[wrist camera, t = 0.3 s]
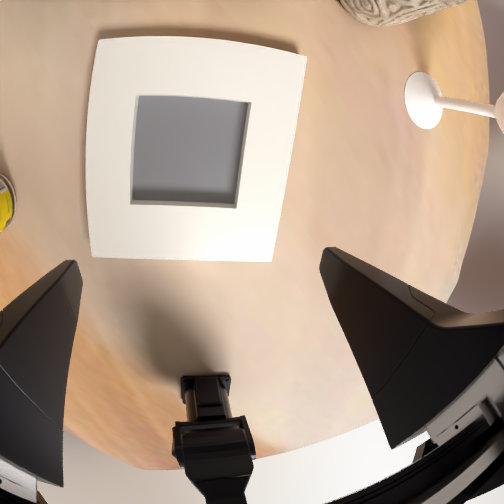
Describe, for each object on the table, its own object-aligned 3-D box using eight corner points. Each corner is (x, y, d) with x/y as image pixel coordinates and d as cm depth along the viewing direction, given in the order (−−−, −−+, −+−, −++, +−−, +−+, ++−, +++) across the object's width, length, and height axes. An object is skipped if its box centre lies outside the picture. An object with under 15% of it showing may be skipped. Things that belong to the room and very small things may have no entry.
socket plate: (266, 253, 26) (271, 261, 25) (96, 249, 22) (91, 257, 21) (300, 59, 18) (307, 56, 17) (103, 43, 14) (98, 39, 13)
